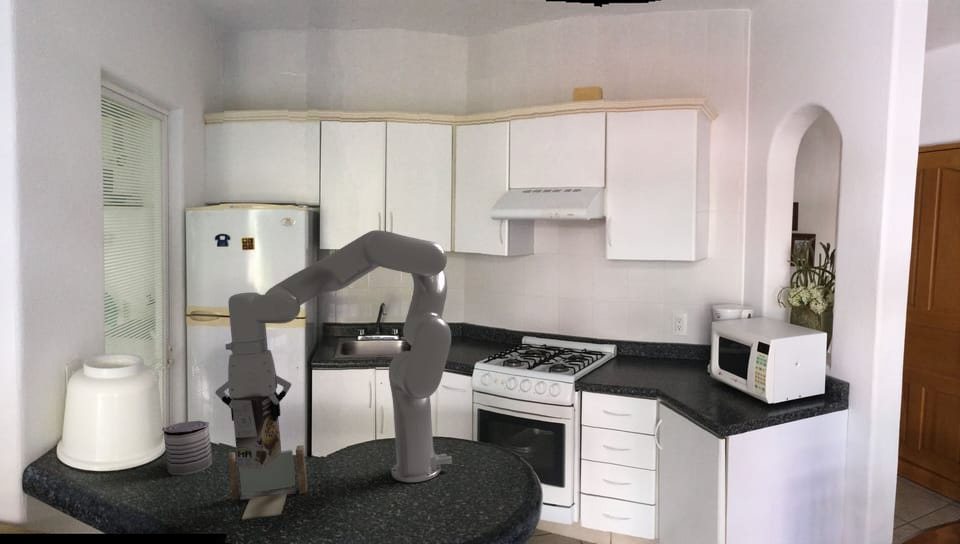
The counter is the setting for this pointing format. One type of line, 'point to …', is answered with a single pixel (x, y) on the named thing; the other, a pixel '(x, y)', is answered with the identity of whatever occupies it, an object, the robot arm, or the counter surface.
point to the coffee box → (255, 432)
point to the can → (187, 447)
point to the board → (264, 506)
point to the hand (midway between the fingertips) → (256, 421)
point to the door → (269, 475)
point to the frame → (302, 489)
